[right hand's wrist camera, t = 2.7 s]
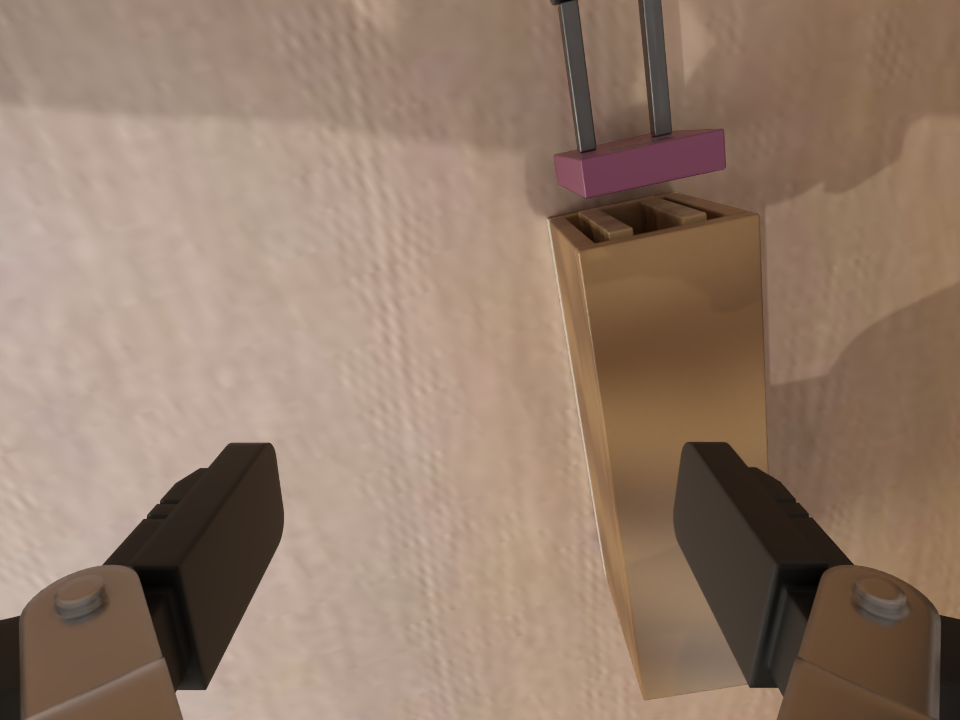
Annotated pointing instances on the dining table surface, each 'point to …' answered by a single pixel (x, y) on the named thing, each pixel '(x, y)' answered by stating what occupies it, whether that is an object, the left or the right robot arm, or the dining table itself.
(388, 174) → the dining table surface
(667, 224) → the drawer
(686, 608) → the cabinet
